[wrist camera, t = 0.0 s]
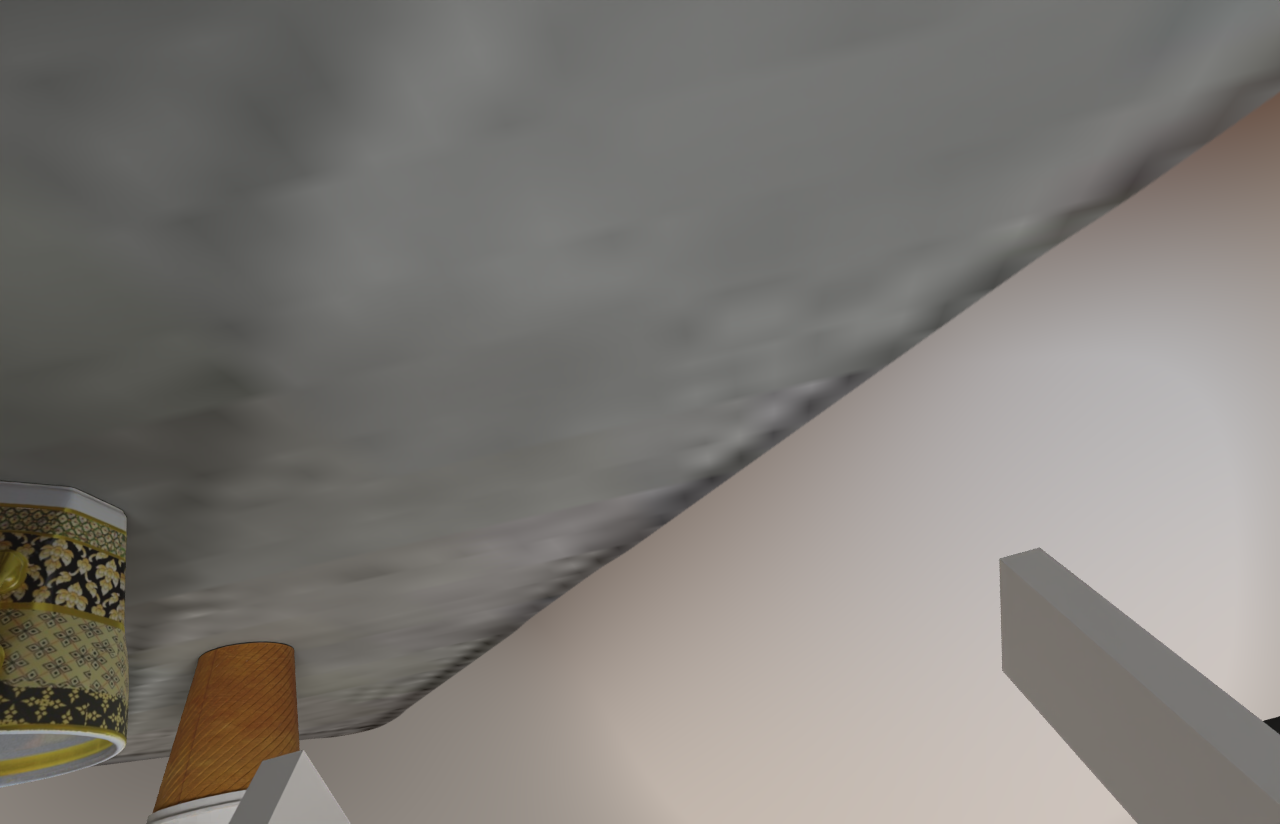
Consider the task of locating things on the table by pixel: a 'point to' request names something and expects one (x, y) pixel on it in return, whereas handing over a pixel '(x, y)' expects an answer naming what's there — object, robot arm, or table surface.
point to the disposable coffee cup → (228, 731)
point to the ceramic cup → (60, 631)
